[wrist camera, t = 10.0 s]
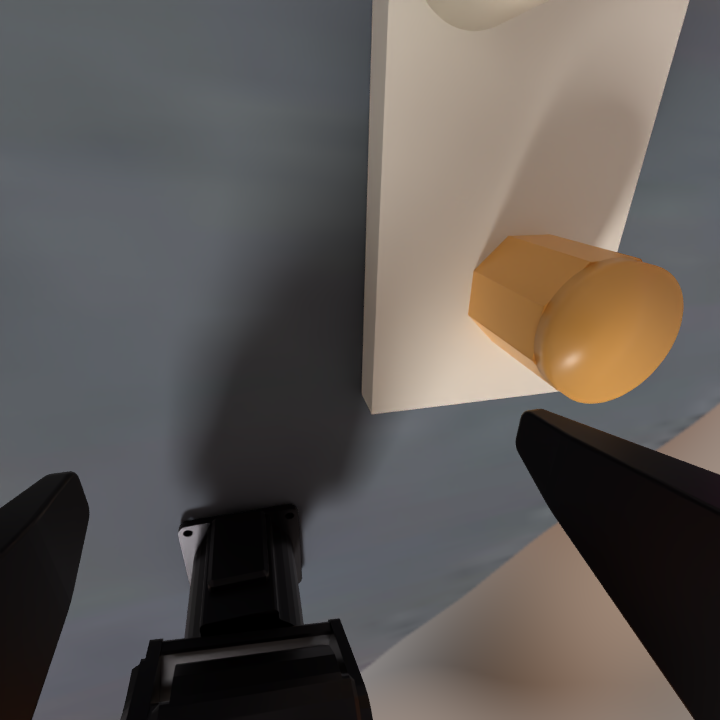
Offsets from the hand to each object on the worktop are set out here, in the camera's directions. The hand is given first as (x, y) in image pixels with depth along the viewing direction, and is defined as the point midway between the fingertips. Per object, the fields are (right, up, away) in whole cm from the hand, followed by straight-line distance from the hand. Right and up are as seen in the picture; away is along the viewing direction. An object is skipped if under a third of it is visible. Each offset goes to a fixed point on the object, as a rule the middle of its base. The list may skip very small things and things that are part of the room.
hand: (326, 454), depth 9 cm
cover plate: (+7, +10, +11) cm, 16 cm away
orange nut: (+8, +5, +11) cm, 15 cm away
